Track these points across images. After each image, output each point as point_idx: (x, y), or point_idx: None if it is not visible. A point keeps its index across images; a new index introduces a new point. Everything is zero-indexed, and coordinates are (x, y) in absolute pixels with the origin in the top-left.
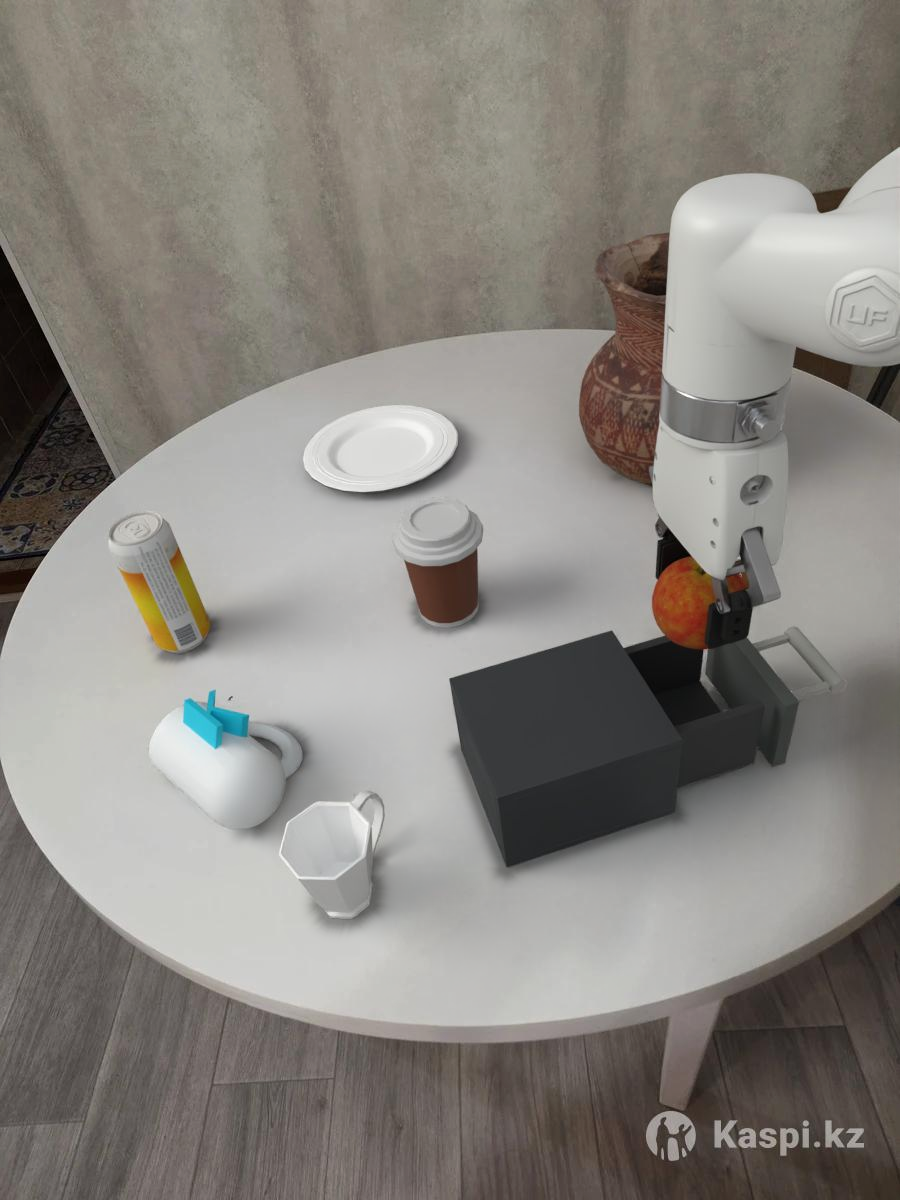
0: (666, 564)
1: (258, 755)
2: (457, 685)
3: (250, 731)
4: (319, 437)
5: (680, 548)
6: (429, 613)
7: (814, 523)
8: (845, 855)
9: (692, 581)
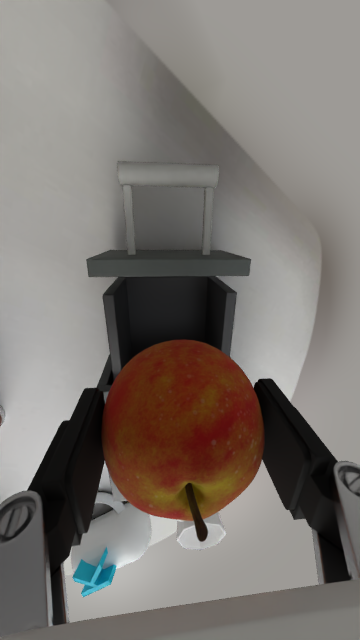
0: (99, 469)
1: (125, 547)
2: (123, 498)
3: None
4: None
5: (86, 486)
6: None
7: None
8: (293, 250)
9: (212, 513)
